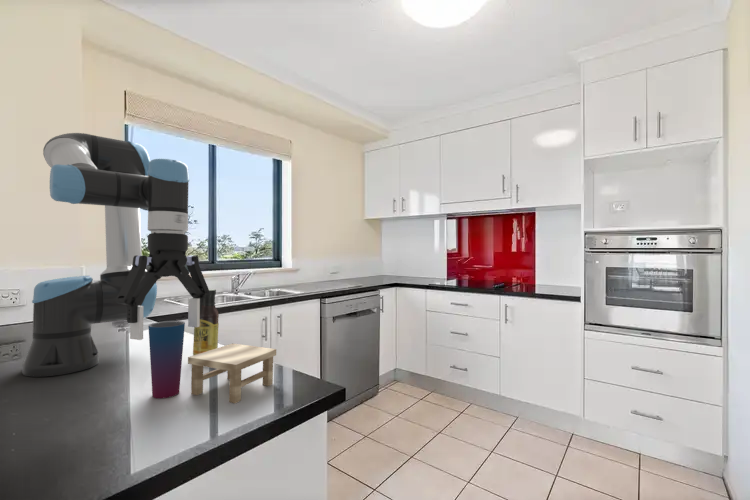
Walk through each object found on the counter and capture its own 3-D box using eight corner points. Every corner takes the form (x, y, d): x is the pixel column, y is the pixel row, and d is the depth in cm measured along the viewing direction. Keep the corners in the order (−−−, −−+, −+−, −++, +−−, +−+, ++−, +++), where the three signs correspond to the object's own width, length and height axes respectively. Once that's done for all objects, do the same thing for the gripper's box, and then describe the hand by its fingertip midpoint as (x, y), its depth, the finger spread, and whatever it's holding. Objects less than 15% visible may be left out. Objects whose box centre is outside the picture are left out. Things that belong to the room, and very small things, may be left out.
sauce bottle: (187, 361, 102) (188, 289, 103) (205, 355, 108) (206, 287, 108) (205, 364, 100) (206, 290, 100) (223, 358, 106) (223, 288, 106)
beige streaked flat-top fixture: (187, 394, 79) (188, 357, 79) (232, 376, 91) (232, 343, 91) (235, 404, 74) (236, 364, 74) (275, 383, 86) (276, 349, 86)
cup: (168, 401, 75) (169, 327, 75) (139, 398, 77) (140, 326, 77) (191, 389, 82) (191, 321, 82) (164, 387, 83) (165, 320, 83)
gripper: (121, 228, 66) (120, 347, 66) (225, 235, 89) (224, 323, 89) (94, 229, 69) (93, 343, 69) (202, 236, 92) (201, 321, 92)
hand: (167, 332), depth 79 cm, fingers open, 13 cm apart
